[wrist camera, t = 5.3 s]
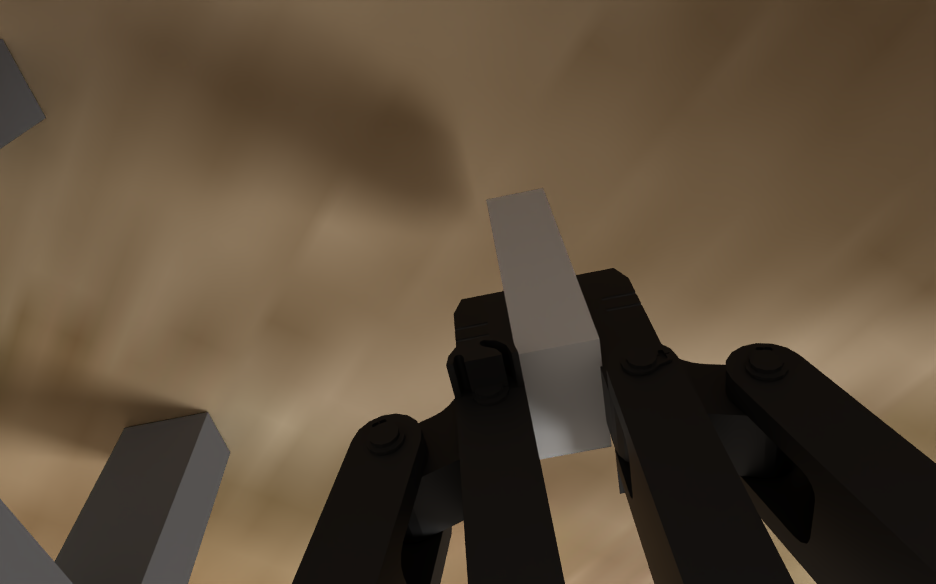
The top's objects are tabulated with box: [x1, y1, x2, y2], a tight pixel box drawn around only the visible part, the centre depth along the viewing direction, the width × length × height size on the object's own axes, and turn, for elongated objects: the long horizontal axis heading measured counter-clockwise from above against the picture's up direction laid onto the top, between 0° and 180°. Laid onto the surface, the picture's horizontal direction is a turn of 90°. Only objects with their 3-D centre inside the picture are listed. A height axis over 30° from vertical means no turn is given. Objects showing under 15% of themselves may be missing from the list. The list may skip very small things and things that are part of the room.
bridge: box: [0, 39, 230, 584], centre depth 17 cm, size 3×14×9 cm, turn 11°
